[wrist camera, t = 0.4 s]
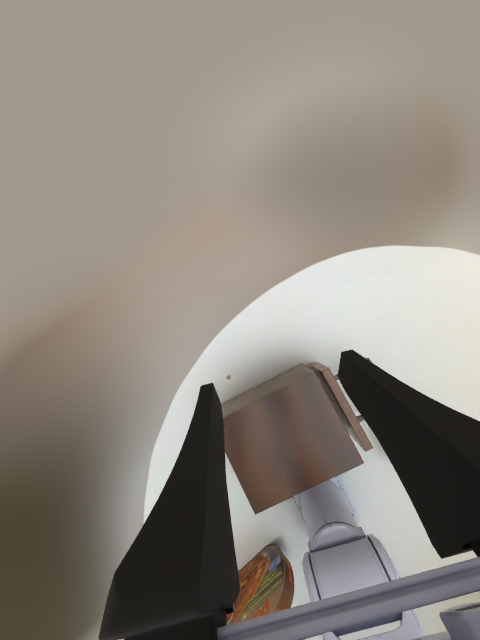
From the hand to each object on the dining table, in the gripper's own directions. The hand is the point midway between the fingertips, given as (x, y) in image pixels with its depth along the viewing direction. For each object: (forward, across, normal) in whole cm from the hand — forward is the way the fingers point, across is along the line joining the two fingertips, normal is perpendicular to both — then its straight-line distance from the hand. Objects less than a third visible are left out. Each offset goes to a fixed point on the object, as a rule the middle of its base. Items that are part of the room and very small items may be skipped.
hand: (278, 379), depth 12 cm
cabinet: (+13, -2, +28) cm, 30 cm away
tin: (-2, +8, +47) cm, 48 cm away
